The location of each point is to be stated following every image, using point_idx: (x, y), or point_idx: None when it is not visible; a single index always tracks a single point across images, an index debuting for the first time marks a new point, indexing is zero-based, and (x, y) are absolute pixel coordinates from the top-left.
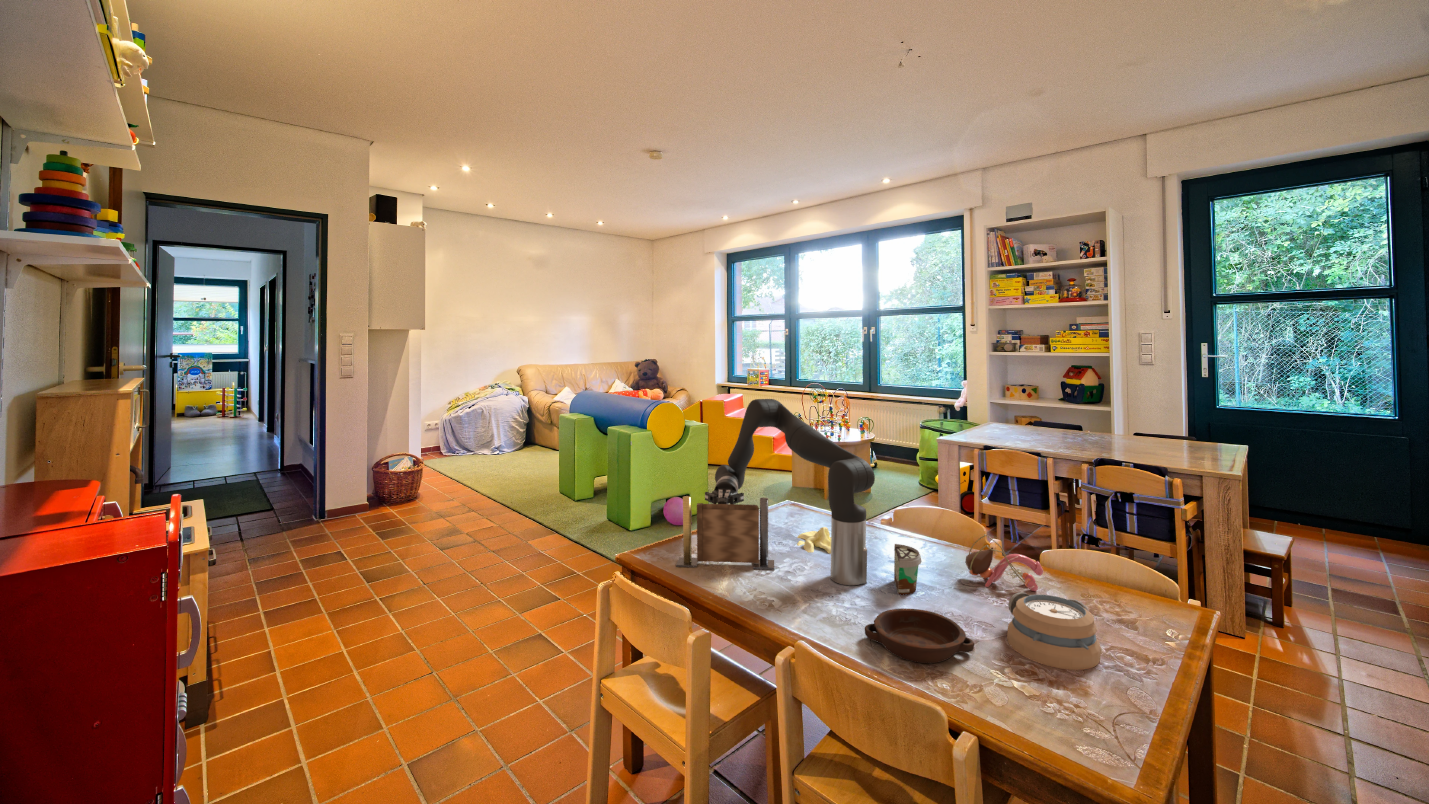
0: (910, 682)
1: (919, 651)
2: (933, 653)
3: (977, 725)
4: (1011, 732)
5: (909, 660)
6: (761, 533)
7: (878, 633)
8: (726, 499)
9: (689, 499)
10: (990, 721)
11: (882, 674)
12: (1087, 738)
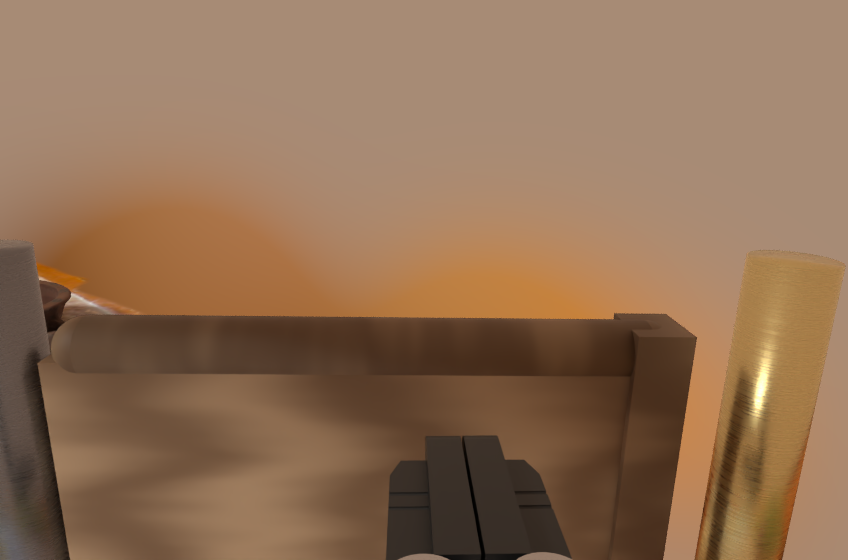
0: (88, 305)
1: None
2: None
3: (72, 279)
4: (43, 277)
5: None
6: None
7: (58, 315)
8: (404, 554)
9: (744, 266)
10: (49, 281)
11: (118, 311)
12: None
